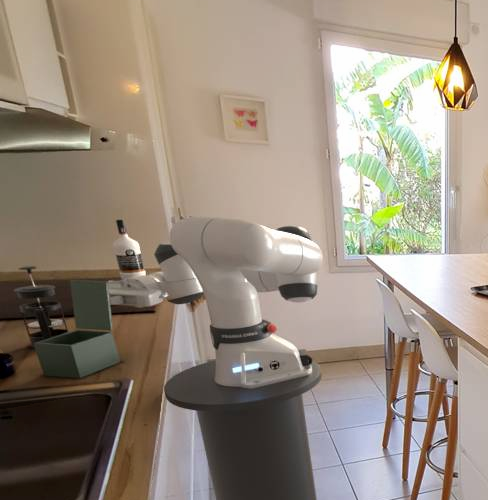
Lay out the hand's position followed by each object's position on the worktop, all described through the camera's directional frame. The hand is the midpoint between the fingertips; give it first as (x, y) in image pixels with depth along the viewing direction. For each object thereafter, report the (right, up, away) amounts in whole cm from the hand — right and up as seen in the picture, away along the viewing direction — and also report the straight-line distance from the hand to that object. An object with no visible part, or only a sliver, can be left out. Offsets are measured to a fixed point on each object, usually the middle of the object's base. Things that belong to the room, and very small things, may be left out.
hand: (100, 302), depth 150 cm
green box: (-2, -18, -4) cm, 19 cm away
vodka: (-41, +12, +70) cm, 82 cm away
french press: (-25, -11, +14) cm, 31 cm away
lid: (0, -1, -3) cm, 3 cm away
